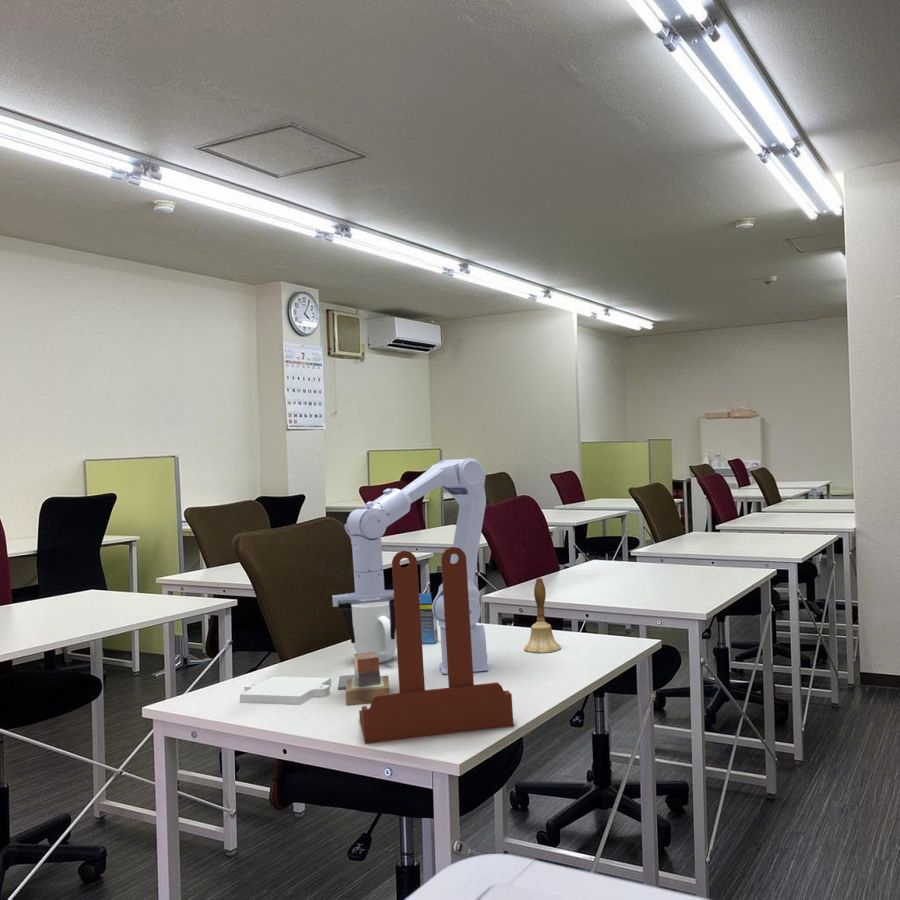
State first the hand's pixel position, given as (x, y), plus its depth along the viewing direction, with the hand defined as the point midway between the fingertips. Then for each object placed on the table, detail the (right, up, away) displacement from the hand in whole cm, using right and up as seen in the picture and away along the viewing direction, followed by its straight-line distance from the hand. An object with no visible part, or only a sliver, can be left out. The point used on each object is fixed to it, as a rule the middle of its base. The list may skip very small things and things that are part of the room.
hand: (373, 640), depth 165 cm
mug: (-1, -10, +24) cm, 26 cm away
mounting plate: (-17, -11, +1) cm, 21 cm away
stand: (-1, -10, -4) cm, 11 cm away
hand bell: (+36, -8, +26) cm, 45 cm away
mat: (-4, -10, +7) cm, 13 cm away
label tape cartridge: (+7, -10, +41) cm, 43 cm away
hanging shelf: (+12, -9, -22) cm, 27 cm away
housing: (-1, -7, -4) cm, 8 cm away
